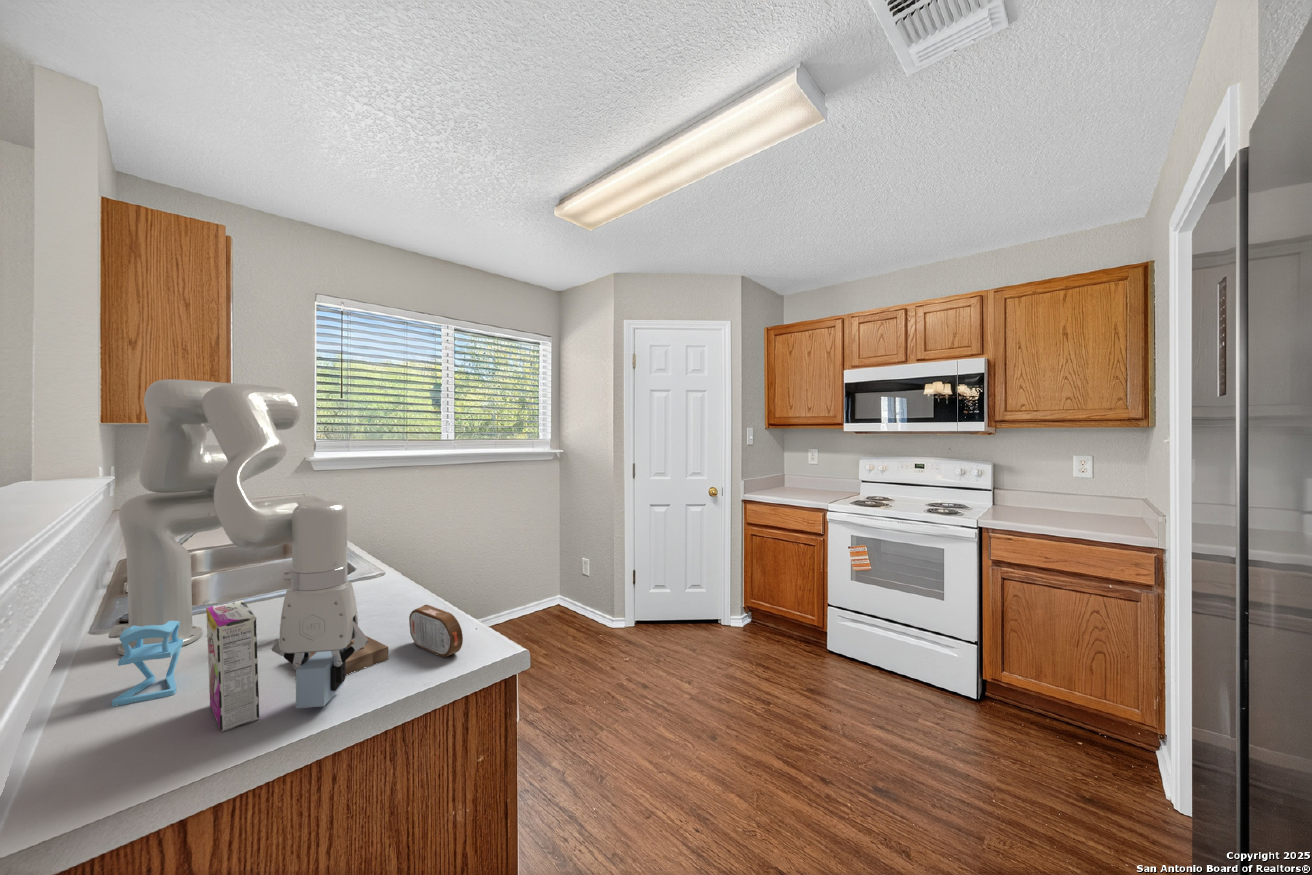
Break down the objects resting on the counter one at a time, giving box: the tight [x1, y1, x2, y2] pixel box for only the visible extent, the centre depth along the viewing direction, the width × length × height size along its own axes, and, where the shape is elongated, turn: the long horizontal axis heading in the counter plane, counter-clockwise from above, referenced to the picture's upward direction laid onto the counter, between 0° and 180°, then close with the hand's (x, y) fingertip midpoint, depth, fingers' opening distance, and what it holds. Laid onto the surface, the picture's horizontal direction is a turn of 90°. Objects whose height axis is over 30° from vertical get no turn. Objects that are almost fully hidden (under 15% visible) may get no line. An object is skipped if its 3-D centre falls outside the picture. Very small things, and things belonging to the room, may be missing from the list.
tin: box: [408, 604, 464, 658], centre depth 102 cm, size 15×3×8 cm, turn 57°
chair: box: [111, 621, 183, 707], centre depth 87 cm, size 8×8×12 cm
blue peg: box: [295, 651, 344, 709], centre depth 83 cm, size 4×7×6 cm, turn 10°
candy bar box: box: [205, 599, 260, 733], centre depth 80 cm, size 11×5×16 cm, turn 48°
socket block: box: [309, 634, 389, 676], centre depth 98 cm, size 12×14×4 cm
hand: (321, 686), depth 83 cm, fingers closed on blue peg, 4 cm apart
